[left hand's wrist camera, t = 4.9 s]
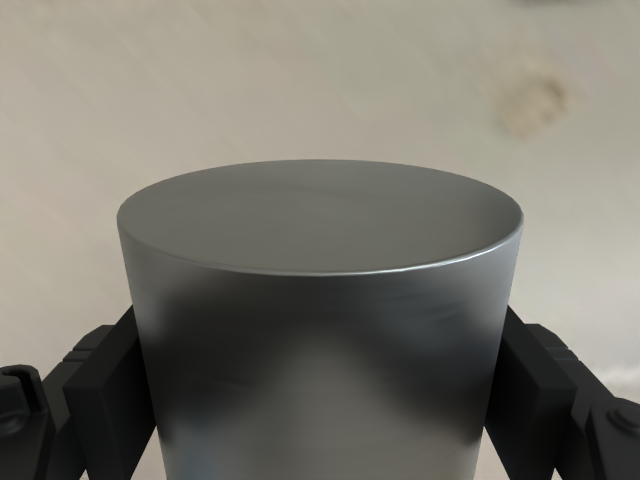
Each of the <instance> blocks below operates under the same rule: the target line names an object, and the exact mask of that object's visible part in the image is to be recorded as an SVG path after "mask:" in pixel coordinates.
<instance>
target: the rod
mask: <svg viewBox="0 0 640 480" xmlns="http://www.w3.org/2000/svg"><path fill="white" fill-rule="evenodd" d="M523 221H524V215H523V212H522V210H521V208H520V206H519V204H518V203H517V202H516V201H515V200H514V199H513V198H511V197H510V196H508V195H507V194H506V193H504V192H502V191H500V190H498V189H496V188H494V187H493V186H490V185H488V184H485V183H483V182H480V181H477V180H474V179H471V178H468V177H465V176H461V175H457V174H453V173H449V172H445V171H440V170H435V169H430V168H424V167H418V166H411V165H404V164H395V163H386V162H374V161H358V160H325V159H315V160H282V161H266V162H255V163H245V164H237V165H229V166H222V167H216V168H211V169H205V170H200V171H196V172H191V173H187V174H183V175H179V176H175V177H172V178H169V179H166V180H163V181H160V182H158V183H155V184H153V185H150V186H148V187H146V188H144V189H142V190H140V191H138V192H136V193H135V194H133V195H132V196H130V197H129V198H128V199H127V200H126V201H125V202H124V203H123V204H122V205H121V206H120V209H119V211H118V213H117V226H118V231H119V237H120V242H121V247H122V252H123V257H124V262H125V267H126V272H127V277H128V283H129V288H130V293H131V298H132V303H133V308H134V313H135V318H136V323H137V328H138V334H139V339H140V344H141V349H142V354H143V359H144V364H145V369H146V374H147V380H148V385H149V390H150V395H151V400H152V405H153V410H154V415H155V420H156V425H157V431H158V436H159V441H160V446H161V451H162V456H163V461H164V466H165V471H166V477H167V480H473V478H474V473H475V468H476V463H477V458H478V453H479V448H480V443H481V438H482V432H483V427H484V422H485V417H486V412H487V407H488V402H489V397H490V392H491V387H492V382H493V376H494V371H495V366H496V361H497V356H498V351H499V346H500V341H501V336H502V331H503V325H504V320H505V315H506V310H507V305H508V300H509V295H510V290H511V285H512V280H513V275H514V269H515V264H516V259H517V254H518V249H519V244H520V239H521V234H522V229H523Z"/></svg>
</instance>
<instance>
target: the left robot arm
mask: <svg viewBox="0 0 640 480" xmlns="http://www.w3.org/2000/svg"><path fill="white" fill-rule="evenodd" d="M484 426H485V429H486V431H487V433H488V435H489V437H490V439H491V441H492V443H493V445H494V447H495V449H496V451H497V454H498V456H499V458H500V460H501V462H502V464H503V466H504V468H505V470H506V472H507V474H508V477H509V479H510V480H551V478H552V475H553V472H554V468H556V470H557V472H558V473H559V475H560V477H561V478H562V480H640V404H638V403H635V402H632V401H629V400H626V399H623V398H617V397H614V396H613V395H612V394H611V392H610V391H609V390H608V389H607V388H606V387H605V386H604V385H603V384H602V383H601V382H600V381H599V380H598V379H597V378H596V376H595V375H594V374H593V373H592V372H591V371H590V370H589V369H588V368H587V367H586V366H585V365H584V364H583V363H582V362H581V361H578V357H577V356H576V355H575V354H574V353H573V352H572V351H571V350H568V347H567V346H566V345H565V344H564V342H563V341H562V340H561V339H560V338H559V337H558V336H557V335H556V334H554V333H553V332H551V331H549V330H548V329H546V328H545V327H543V326H541V325H540V324H524V323H523V322H522V321H521V319H520V318H519V317H518V316H517V315H516V313H515V312H514V311H513V310H512V309H511V308H510V306H509V305H507V310H506V315H505V320H504V325H503V331H502V336H501V341H500V346H499V351H498V356H497V361H496V366H495V371H494V376H493V382H492V387H491V392H490V397H489V402H488V407H487V412H486V417H485V422H484ZM155 427H156V420H155V415H154V410H153V405H152V400H151V395H150V390H149V385H148V380H147V374H146V369H145V364H144V359H143V354H142V349H141V344H140V339H139V334H138V328H137V323H136V318H135V313H134V308H133V304H132V306H131V307H130V308H129V309H128V310H127V311H126V313H125V314H124V315H123V316H122V317H121V319H120V320H119V321H118V322H117V323H116V324H115V325H101V326H100V327H98V328H97V329H95V330H93V331H92V332H90V333H88V334H87V335H85V336H84V337H83V338H82V339H81V340H80V341H79V342H78V343H77V345H76V346H75V347H74V348H73V350H72V351H70V352H69V353H68V354H67V355H66V356H65V357H64V358H63V361H62V362H60V363H59V364H58V365H57V366H56V367H55V368H54V369H53V370H52V371H51V372H50V373H49V374H48V376H47V377H46V378H45V379H44V380H43V381H42V382H41V379H40V376H39V372H38V370H37V369H35V368H34V367H32V366H29V365H12V366H5V367H2V368H0V480H79V479H80V478H81V476H82V474H83V473H84V471H85V469H86V471H87V474H88V477H89V480H130V479H131V477H132V475H133V473H134V471H135V469H136V467H137V465H138V462H139V460H140V458H141V456H142V454H143V452H144V450H145V448H146V446H147V444H148V442H149V440H150V437H151V435H152V433H153V431H154V429H155Z"/></svg>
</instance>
